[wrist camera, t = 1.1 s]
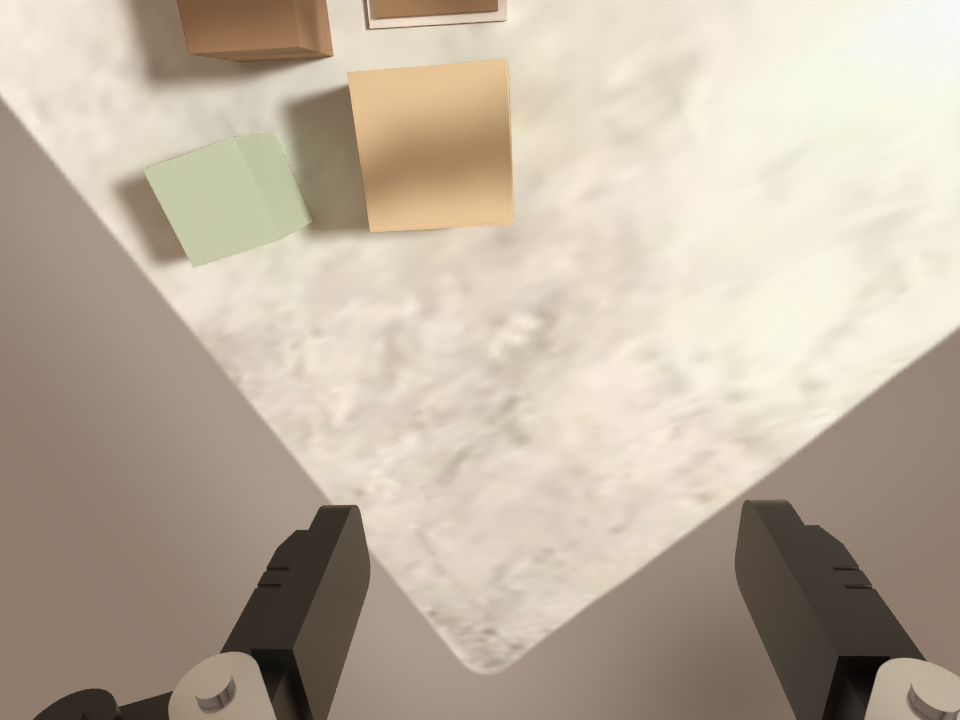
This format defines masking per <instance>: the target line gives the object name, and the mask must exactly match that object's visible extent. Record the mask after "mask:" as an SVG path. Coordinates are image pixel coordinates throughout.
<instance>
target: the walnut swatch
mask: <svg viewBox="0 0 960 720" xmlns="http://www.w3.org/2000/svg"><path fill="white" fill-rule="evenodd" d="M367 6H368V16H369V25H370V29H377V28H393V27H409V26H425V25H442V24H458V23H474V22H490V21H506V20H507V6H506V0H367Z"/></svg>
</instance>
